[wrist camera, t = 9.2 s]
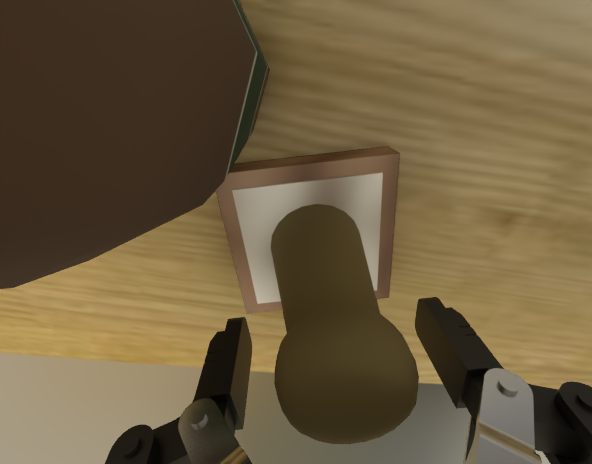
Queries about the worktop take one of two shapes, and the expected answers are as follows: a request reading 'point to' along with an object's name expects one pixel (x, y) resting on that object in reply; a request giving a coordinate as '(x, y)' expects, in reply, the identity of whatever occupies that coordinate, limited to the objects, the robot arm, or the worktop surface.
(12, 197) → the beer bottle
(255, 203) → the picture frame
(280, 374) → the brown rounded piece
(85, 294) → the worktop surface
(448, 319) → the robot arm
